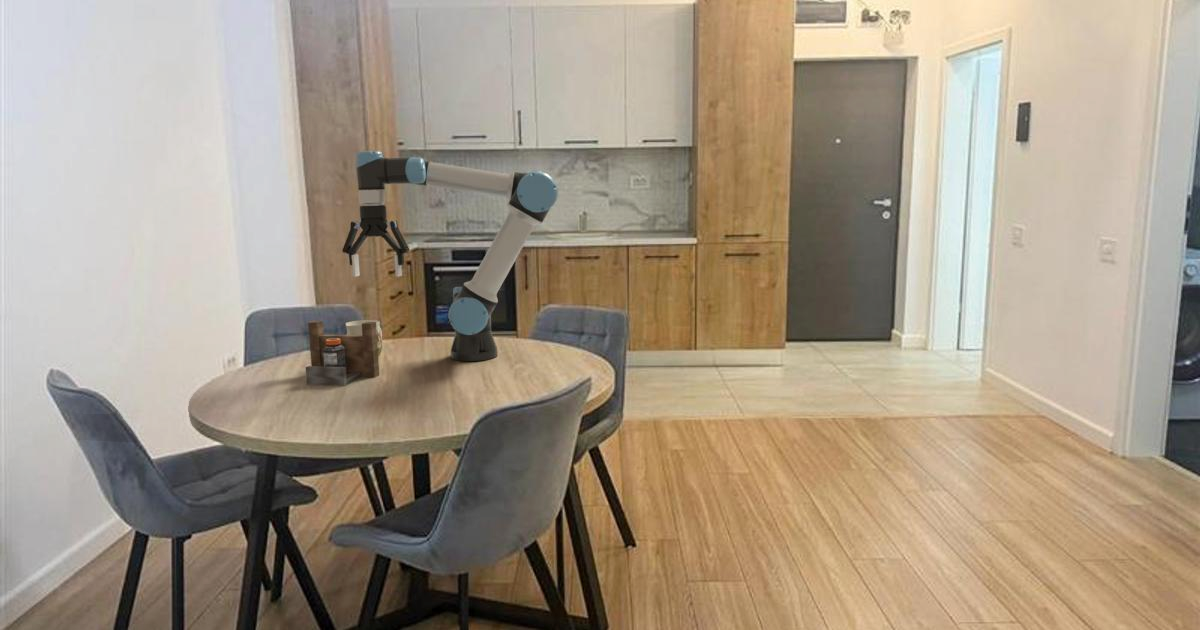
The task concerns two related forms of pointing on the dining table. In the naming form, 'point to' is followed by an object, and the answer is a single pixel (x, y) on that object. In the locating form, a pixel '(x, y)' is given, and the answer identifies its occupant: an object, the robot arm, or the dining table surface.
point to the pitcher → (356, 329)
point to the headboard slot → (357, 354)
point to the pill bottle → (334, 353)
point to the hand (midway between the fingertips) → (377, 276)
